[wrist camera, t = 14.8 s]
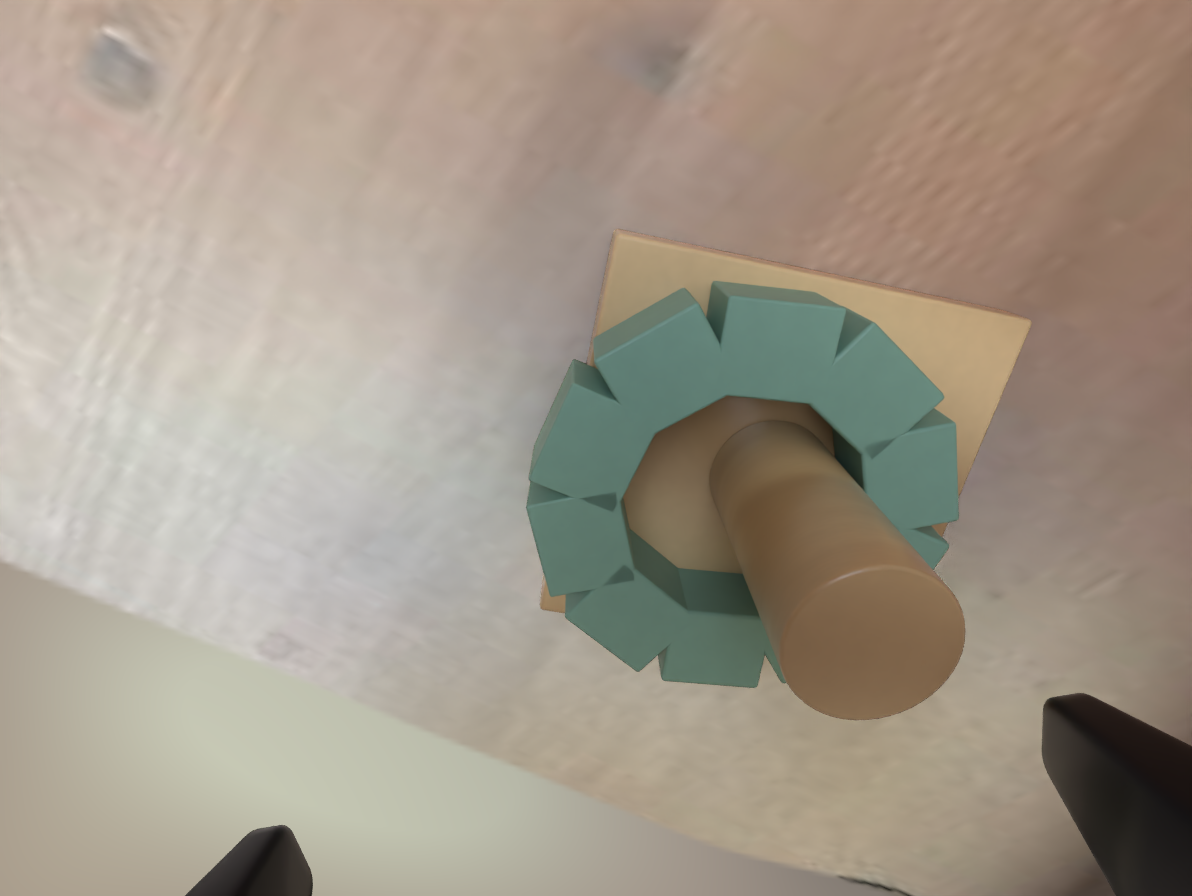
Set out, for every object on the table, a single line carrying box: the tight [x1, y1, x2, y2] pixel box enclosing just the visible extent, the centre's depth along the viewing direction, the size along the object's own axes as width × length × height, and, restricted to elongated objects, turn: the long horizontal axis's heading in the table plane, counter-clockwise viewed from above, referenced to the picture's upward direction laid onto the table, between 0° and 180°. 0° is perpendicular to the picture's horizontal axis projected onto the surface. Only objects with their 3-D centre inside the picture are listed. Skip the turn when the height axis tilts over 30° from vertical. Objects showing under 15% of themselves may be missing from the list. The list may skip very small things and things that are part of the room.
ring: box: [526, 281, 959, 688], centre depth 15 cm, size 8×8×2 cm
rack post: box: [540, 229, 1031, 720], centre depth 13 cm, size 9×9×7 cm
